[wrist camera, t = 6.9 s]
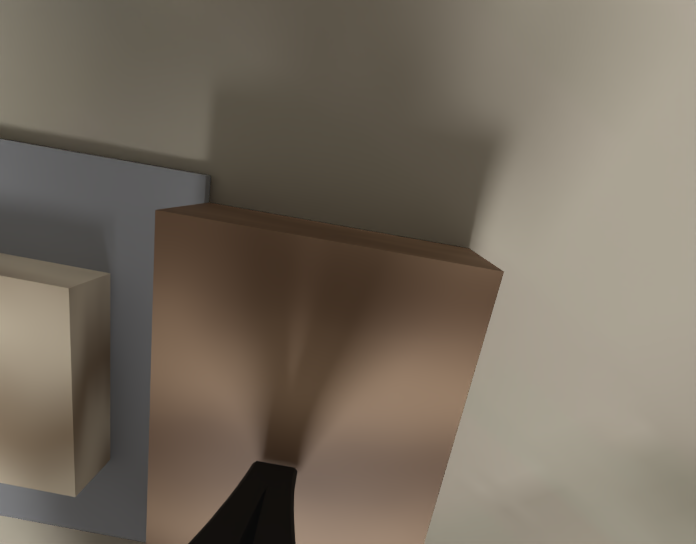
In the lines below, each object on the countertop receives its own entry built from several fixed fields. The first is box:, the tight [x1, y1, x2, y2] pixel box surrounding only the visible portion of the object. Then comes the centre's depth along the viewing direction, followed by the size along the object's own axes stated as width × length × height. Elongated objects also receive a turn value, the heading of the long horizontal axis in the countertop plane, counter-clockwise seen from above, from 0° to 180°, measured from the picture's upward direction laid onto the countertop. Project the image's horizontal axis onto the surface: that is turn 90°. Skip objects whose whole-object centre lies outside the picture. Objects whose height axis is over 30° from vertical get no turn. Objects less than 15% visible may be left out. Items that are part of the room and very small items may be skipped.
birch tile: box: [0, 253, 110, 497], centre depth 14 cm, size 9×6×2 cm, turn 170°
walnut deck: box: [146, 203, 504, 544], centre depth 14 cm, size 16×10×4 cm, turn 170°
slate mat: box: [0, 139, 211, 543], centre depth 15 cm, size 18×12×1 cm, turn 170°
